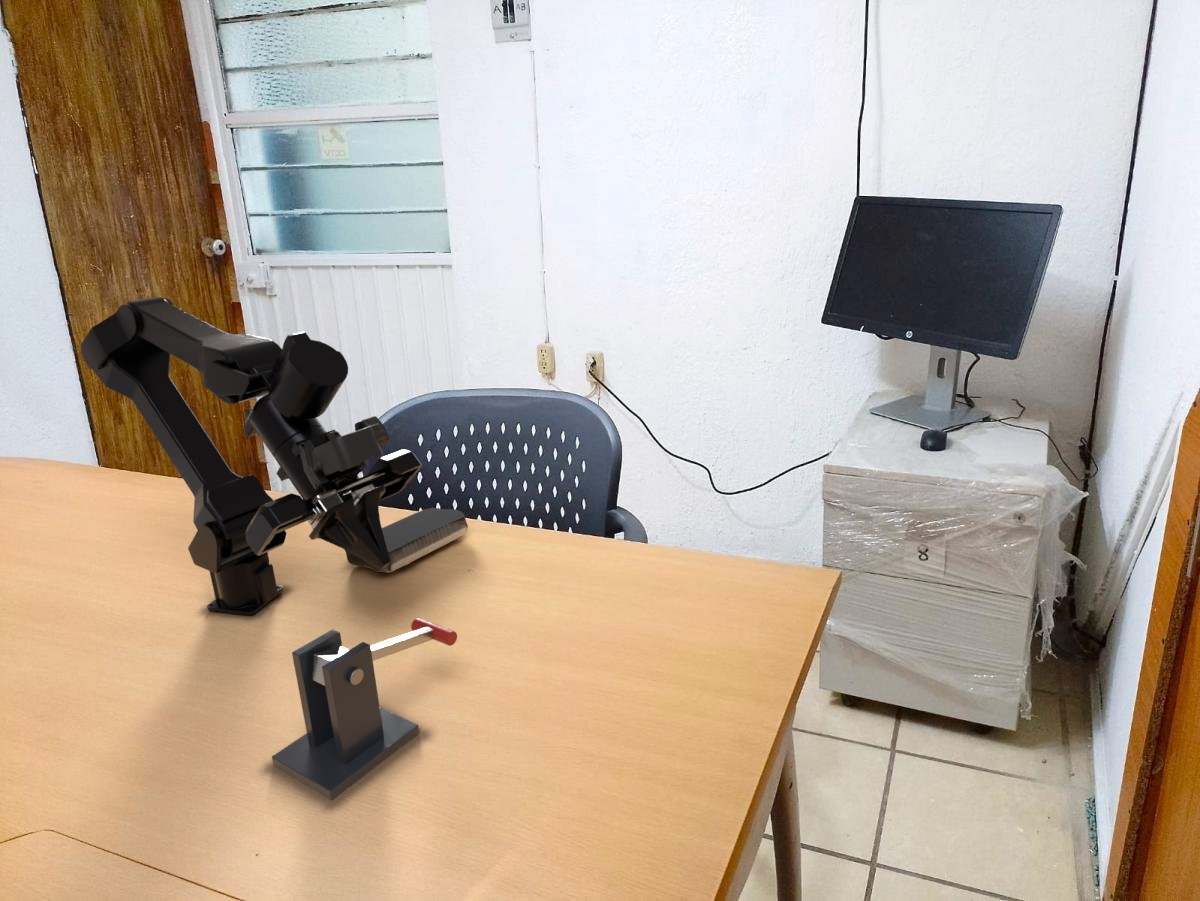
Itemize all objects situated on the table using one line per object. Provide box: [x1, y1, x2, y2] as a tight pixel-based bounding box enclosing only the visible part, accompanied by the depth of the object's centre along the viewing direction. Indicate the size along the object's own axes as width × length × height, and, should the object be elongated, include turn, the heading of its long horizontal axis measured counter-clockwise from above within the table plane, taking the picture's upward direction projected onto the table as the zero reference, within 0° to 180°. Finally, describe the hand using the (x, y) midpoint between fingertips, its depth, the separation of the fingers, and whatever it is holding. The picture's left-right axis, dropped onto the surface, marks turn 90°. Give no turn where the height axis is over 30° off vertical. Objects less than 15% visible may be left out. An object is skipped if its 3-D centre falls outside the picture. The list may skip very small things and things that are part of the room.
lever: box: [312, 617, 458, 686], centre depth 77 cm, size 14×5×2 cm, turn 146°
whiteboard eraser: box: [343, 507, 469, 573], centre depth 112 cm, size 16×8×4 cm, turn 144°
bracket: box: [271, 628, 420, 801], centre depth 73 cm, size 10×8×11 cm
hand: (385, 565), depth 83 cm, fingers closed
